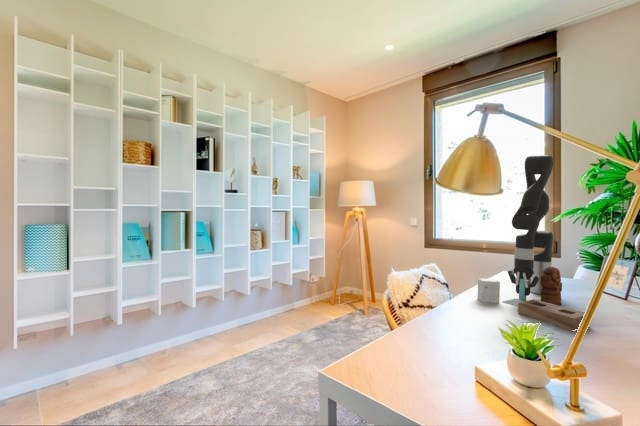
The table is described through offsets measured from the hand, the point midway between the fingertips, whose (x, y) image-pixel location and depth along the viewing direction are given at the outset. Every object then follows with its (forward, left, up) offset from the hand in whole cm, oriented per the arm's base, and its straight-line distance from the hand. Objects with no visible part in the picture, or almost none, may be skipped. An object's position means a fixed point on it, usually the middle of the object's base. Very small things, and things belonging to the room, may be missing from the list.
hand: (522, 294), depth 146 cm
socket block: (+9, +16, -5) cm, 19 cm away
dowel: (0, 0, -3) cm, 3 cm away
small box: (+9, -11, -5) cm, 15 cm away
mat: (-1, -1, -5) cm, 5 cm away
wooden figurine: (-13, +6, -5) cm, 15 cm away
